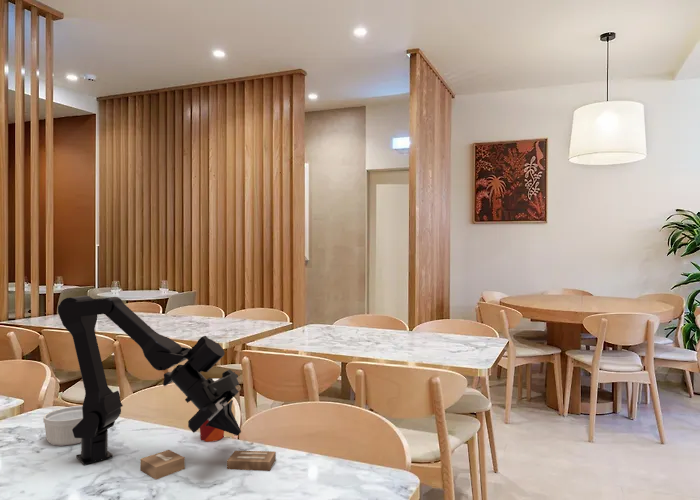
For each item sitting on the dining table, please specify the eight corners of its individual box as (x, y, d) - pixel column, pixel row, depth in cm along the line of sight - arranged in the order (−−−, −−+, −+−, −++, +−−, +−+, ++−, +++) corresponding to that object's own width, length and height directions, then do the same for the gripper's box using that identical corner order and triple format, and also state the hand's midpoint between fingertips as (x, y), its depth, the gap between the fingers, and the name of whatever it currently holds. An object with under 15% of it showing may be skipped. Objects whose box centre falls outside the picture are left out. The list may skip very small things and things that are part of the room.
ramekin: (35, 439, 132) (36, 413, 132) (88, 426, 142) (88, 401, 142) (53, 452, 123) (53, 424, 124) (108, 437, 133) (108, 411, 133)
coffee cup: (219, 444, 128) (219, 386, 128) (190, 442, 130) (190, 384, 130) (233, 433, 136) (233, 378, 137) (205, 430, 138) (205, 377, 138)
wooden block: (226, 460, 114) (269, 461, 113) (234, 449, 120) (275, 450, 119) (226, 471, 114) (269, 472, 113) (235, 460, 120) (275, 461, 119)
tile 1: (140, 471, 113) (140, 457, 113) (168, 462, 118) (168, 448, 118) (155, 481, 108) (155, 466, 108) (184, 470, 114) (184, 456, 114)
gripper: (202, 371, 108) (251, 423, 107) (230, 353, 126) (273, 398, 125) (167, 406, 109) (215, 459, 107) (201, 384, 127) (242, 428, 126)
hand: (239, 433), depth 117 cm, fingers closed
